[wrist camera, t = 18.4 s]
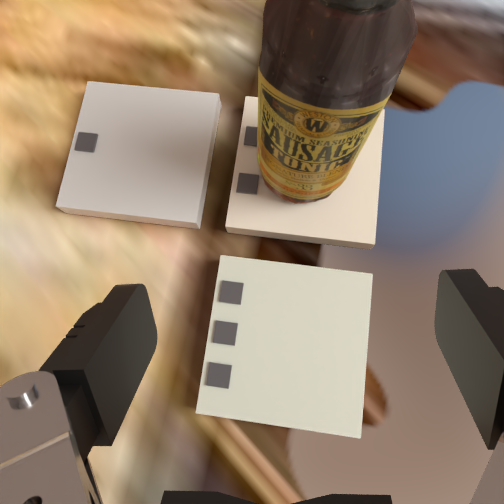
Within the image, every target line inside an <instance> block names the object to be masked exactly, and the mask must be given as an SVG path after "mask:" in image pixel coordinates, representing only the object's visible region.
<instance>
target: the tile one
mask: <svg viewBox="0 0 504 504" xmlns="http://www.w3.org/2000/svg"><path fill="white" fill-rule="evenodd" d="M220 110H221V102H220V97H219V94H218V93H207V92H197V91H186V90H176V89H165V88H155V87H144V86H134V85H123V84H113V83H102V82H92V81H88V83H87V87H86V91H85V95H84V98H83V102H82V106H81V110H80V114H79V118H78V122H77V125H76V129H75V133H74V137H73V141H72V145H71V149H70V153H69V156H68V160H67V164H66V168H65V172H64V176H63V180H62V184H61V187H60V191H59V195H58V199H57V203H56V207H58V208H59V209H61V210H62V211H63V212H65V213H69V214H77V215H85V216H93V217H102V218H110V219H118V220H127V221H135V222H143V223H152V224H160V225H168V226H177V227H185V228H193V229H200V226H201V220H202V214H203V208H204V202H205V197H206V191H207V185H208V179H209V174H210V168H211V162H212V156H213V150H214V145H215V139H216V133H217V127H218V121H219V116H220Z"/></svg>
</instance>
